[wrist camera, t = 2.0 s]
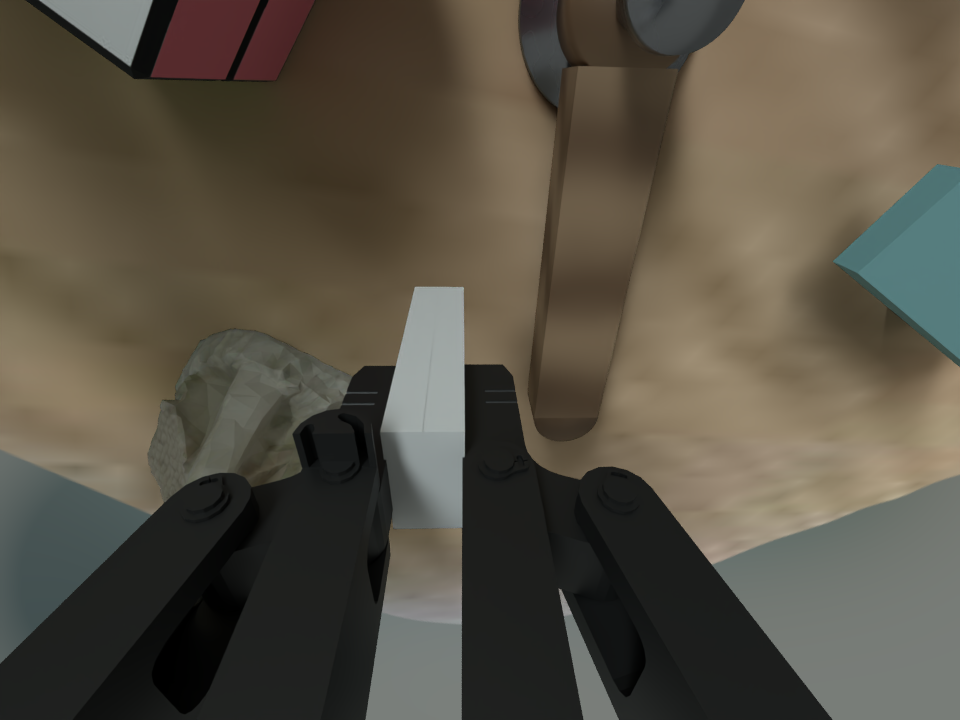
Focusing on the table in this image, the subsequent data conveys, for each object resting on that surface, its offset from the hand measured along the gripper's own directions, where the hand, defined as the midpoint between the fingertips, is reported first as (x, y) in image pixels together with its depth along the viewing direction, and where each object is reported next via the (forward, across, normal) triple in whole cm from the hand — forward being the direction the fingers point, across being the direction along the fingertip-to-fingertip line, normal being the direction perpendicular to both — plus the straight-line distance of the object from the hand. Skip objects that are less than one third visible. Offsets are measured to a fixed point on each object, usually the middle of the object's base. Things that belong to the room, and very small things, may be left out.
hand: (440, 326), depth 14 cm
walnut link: (+11, +7, 0) cm, 13 cm away
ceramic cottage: (+12, -12, -16) cm, 23 cm away
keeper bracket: (+12, +26, -1) cm, 28 cm away
